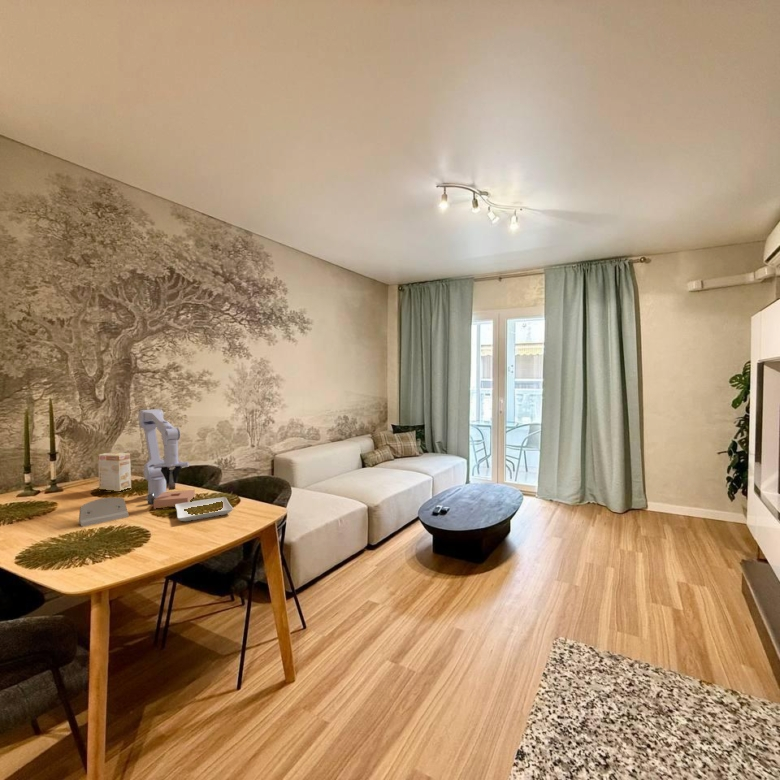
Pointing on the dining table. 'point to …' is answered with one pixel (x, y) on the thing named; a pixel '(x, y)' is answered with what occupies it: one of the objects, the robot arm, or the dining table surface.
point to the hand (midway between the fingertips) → (171, 482)
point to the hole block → (173, 498)
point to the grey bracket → (102, 511)
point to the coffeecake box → (114, 471)
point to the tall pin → (171, 479)
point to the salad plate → (185, 516)
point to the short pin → (150, 498)
